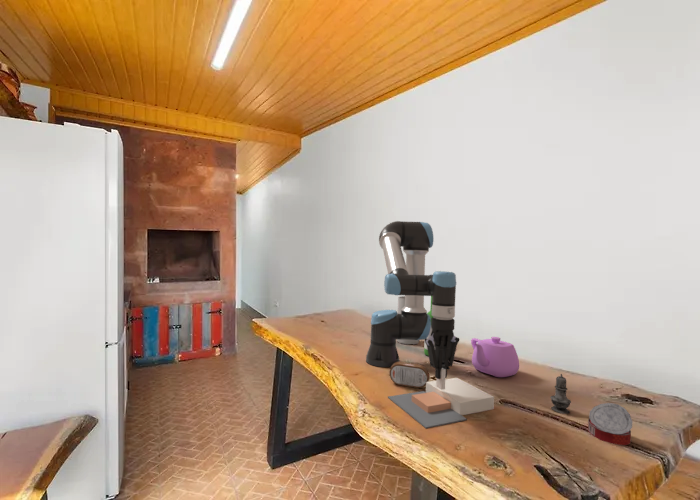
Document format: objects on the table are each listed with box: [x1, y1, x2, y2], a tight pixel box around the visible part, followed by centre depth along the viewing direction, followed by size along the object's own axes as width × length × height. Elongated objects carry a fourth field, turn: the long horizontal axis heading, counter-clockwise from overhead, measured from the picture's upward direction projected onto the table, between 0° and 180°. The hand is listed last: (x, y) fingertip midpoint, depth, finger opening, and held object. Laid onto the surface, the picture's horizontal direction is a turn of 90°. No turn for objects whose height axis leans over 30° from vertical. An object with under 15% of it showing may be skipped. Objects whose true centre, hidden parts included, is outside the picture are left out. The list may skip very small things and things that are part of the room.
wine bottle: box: [423, 296, 434, 357], centre depth 172 cm, size 8×8×30 cm
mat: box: [387, 390, 468, 429], centre depth 112 cm, size 22×15×1 cm
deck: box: [425, 377, 495, 416], centre depth 119 cm, size 18×14×4 cm
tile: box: [412, 392, 451, 413], centre depth 114 cm, size 9×9×2 cm
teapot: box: [470, 336, 520, 378], centre depth 150 cm, size 23×21×15 cm
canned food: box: [587, 402, 633, 446], centre depth 99 cm, size 11×10×10 cm
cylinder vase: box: [396, 295, 420, 345], centre depth 196 cm, size 12×12×25 cm
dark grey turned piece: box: [550, 373, 572, 415], centre depth 115 cm, size 6×6×12 cm
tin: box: [389, 361, 431, 389], centre depth 131 cm, size 15×3×8 cm, turn 71°
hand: (440, 387), depth 116 cm, fingers closed
